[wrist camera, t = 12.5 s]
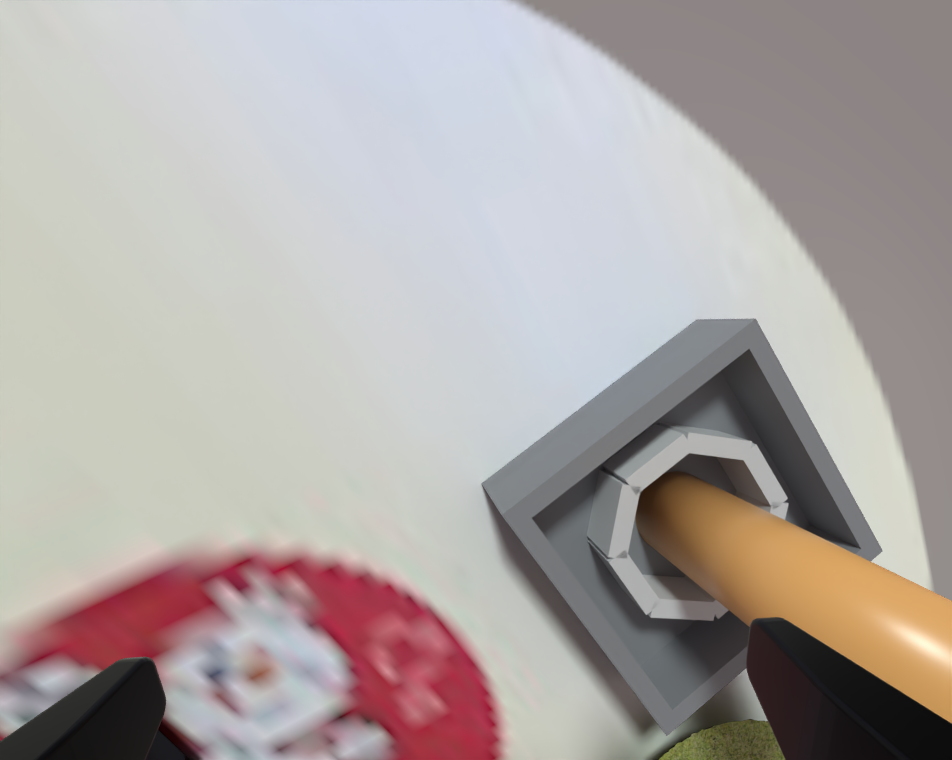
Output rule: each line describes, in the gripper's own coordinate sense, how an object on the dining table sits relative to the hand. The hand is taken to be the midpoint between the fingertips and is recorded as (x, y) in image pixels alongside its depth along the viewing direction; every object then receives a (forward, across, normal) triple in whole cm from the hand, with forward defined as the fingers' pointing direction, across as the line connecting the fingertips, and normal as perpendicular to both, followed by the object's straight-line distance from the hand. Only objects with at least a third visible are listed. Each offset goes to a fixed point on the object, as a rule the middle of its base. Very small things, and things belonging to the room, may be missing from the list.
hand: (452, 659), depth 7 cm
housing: (+14, -9, +6) cm, 18 cm away
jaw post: (+13, -9, +6) cm, 17 cm away
